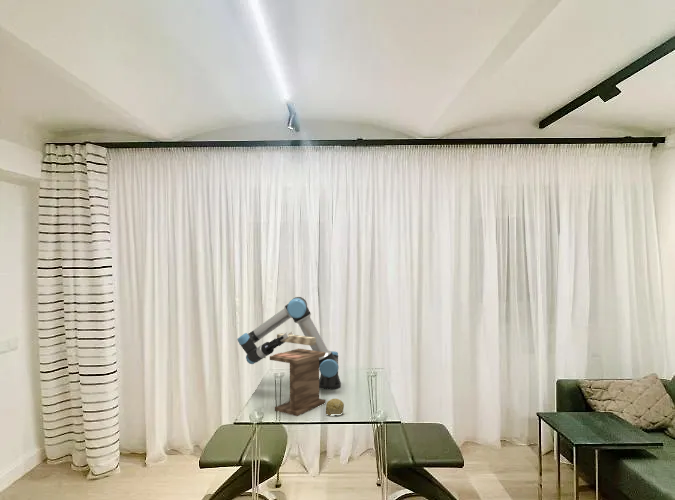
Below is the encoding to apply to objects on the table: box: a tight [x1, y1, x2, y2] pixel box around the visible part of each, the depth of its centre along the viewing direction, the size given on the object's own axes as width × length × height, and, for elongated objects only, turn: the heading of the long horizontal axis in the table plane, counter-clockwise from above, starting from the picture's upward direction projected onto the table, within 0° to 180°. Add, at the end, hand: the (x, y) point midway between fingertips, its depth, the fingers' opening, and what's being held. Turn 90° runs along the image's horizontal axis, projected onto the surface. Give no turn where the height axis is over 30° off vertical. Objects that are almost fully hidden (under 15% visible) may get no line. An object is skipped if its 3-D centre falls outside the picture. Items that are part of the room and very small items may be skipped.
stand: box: [269, 348, 326, 417], centre depth 273 cm, size 20×26×30 cm
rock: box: [325, 398, 345, 416], centre depth 260 cm, size 10×11×10 cm
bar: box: [276, 333, 316, 347], centre depth 282 cm, size 26×4×4 cm, turn 56°
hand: (290, 334), depth 284 cm, fingers closed on bar, 4 cm apart
